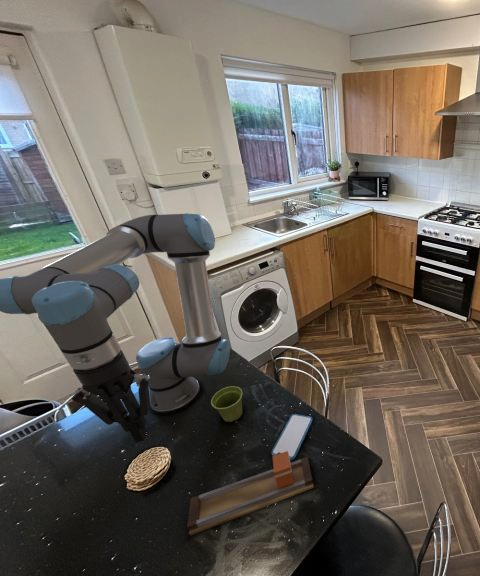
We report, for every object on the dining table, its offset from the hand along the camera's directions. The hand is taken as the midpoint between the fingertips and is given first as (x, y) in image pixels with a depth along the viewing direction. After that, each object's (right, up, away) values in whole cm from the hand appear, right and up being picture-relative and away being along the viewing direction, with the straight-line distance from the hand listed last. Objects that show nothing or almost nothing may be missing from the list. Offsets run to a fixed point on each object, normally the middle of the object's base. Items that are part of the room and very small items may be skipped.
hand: (141, 436), depth 71 cm
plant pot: (+4, -9, +34) cm, 36 cm away
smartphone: (+27, -13, +28) cm, 41 cm away
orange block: (+29, -19, +14) cm, 37 cm away
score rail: (+21, -22, +12) cm, 33 cm away
